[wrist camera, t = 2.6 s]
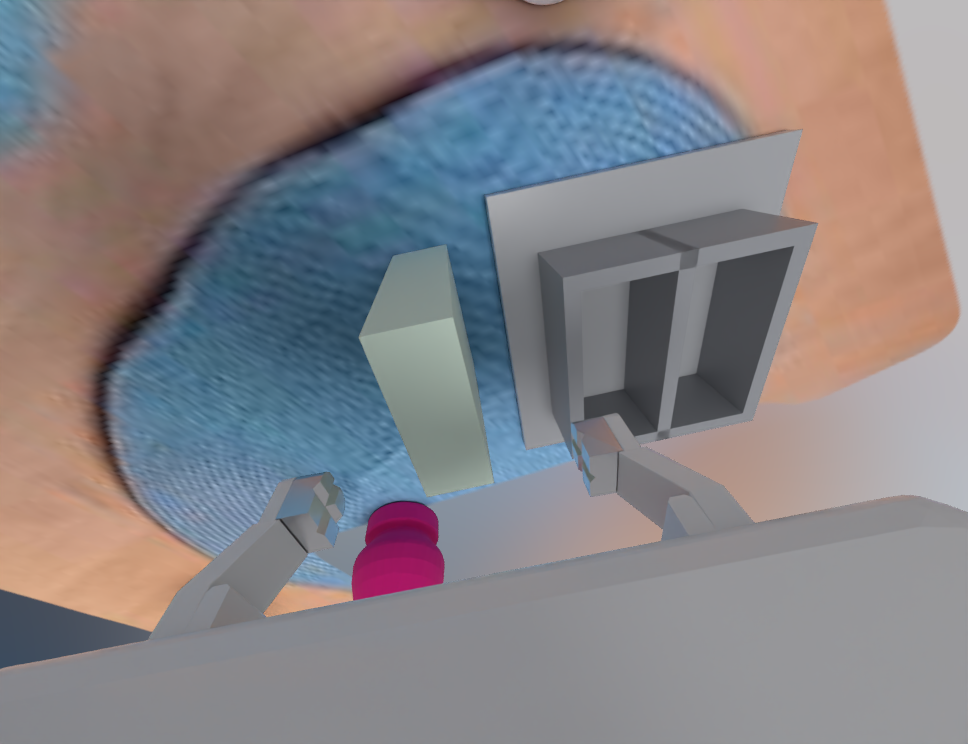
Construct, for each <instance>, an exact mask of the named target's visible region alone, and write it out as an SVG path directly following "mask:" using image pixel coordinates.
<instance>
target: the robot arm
mask: <svg viewBox="0 0 968 744" xmlns="http://www.w3.org/2000/svg"><path fill="white" fill-rule="evenodd" d="M571 433H572V435H573V437H574V439H573V440H572V450H573V455H574V459H575V462H576V464H577V467H578V469H579V470H580V471H582V472H583V481H584V484H585V486H586V488H587V490H588V493H589V495H590V497H593V496H600V495H606V494H611V493H617V494H618V495H619V496H620V497H622V498H623V499H624V500H626V501H627V502H628V503H629V504H631V505H632V506H633V507H635V508H636V509H637V510H638V511H640V512H641V513H642V514H644V515H645V516H646V517H648V518H649V519H650V520H651V521H652V522H654V523H655V524H656V525H658V526H659V527H660V528H661V529H663V534H662V539H661V541H659V542H654V543H649V544H644V545H639V546H634V547H628V548H623V549H618V550H613V551H608V552H602V553H597V554H592V555H587V556H582V557H576V558H571V559H566V560H561V561H556V562H551V563H546V564H540V565H535V566H530V567H525V568H520V569H515V570H510V571H505V572H499V573H494V574H489V575H484V576H479V577H474V578H469V579H464V580H458V581H453V582H448V583H443V584H437V585H432V586H427V587H422V588H417V589H411V590H406V591H401V592H396V593H391V594H385V595H380V596H375V597H370V598H365V599H360V600H354V601H349V602H344V603H339V604H334V605H329V606H323V607H318V608H313V609H308V610H303V611H297V612H292V613H287V614H282V615H277V616H272V617H266V616H265V615H263V613H264V612H265V610H266V609H267V608H268V606H269V605H270V604H271V603H272V601H273V600H274V599H275V597H276V596H277V595H278V593H279V592H280V591H281V589H282V588H283V587H284V586H285V584H286V583H287V582H288V580H289V579H290V578H291V576H292V575H293V574H294V572H295V571H296V570H297V568H298V567H299V566H300V565H301V563H302V562H303V561H304V559H305V558H306V557H307V555H308V554H307V553H311V552H315V551H320V550H325V549H329V548H333V547H334V544H335V541H336V537H337V534H338V531H339V527H338V525H337V522H338V521H339V519H340V518H341V517H342V516H343V513H344V509H345V498H344V495H343V492H342V490H341V489H340V487H338V486H336V485H334V484H333V482H334V477H333V476H332V475H331V473H330V472H322V473H317V474H311V475H305V476H300V477H296V478H290V479H284V480H282V481H281V482H279V483H278V485H277V487H276V489H275V491H274V493H273V495H272V497H271V499H270V501H269V503H268V505H267V506H266V508H265V510H264V512H263V514H262V516H261V518H260V520H259V522H258V524H254V525H252V526H251V527H250V528H249V529H248V530H246V531H245V532H244V533H243V534H242V535H241V536H240V537H239V538H237V539H236V540H235V541H234V542H233V543H232V544H231V545H230V546H228V547H227V548H226V549H225V550H224V551H223V552H222V553H221V554H219V555H218V556H217V557H216V558H215V559H214V560H213V561H212V562H211V563H209V564H208V565H207V566H206V567H205V568H204V569H203V570H202V571H200V572H199V573H198V574H197V575H196V576H195V577H194V578H193V579H191V580H190V581H189V582H188V583H187V584H186V585H185V586H184V587H182V588H181V589H180V590H179V591H178V592H177V593H176V595H175V597H174V598H173V600H172V602H171V603H170V605H169V606H168V608H167V610H166V611H165V613H164V615H163V616H162V618H161V619H160V621H159V623H158V624H157V626H156V627H155V629H154V631H153V632H152V634H151V636H150V637H149V639H148V640H147V641H142V642H137V643H132V644H127V645H121V646H117V647H111V648H106V649H101V650H96V651H91V652H85V653H80V654H75V655H70V656H65V657H59V658H54V659H49V660H44V661H39V662H33V663H28V664H22V665H16V666H11V667H7V668H2V669H0V744H968V512H966V511H963V510H960V509H958V508H955V507H952V506H949V505H947V504H944V503H940V502H937V501H933V500H931V499H927V498H924V497H921V496H914V495H900V496H893V497H887V498H881V499H876V500H871V501H866V502H861V503H855V504H850V505H845V506H840V507H835V508H830V509H825V510H820V511H814V512H809V513H804V514H799V515H794V516H789V517H784V518H779V519H773V520H769V521H763V522H758V523H754V522H753V520H752V519H751V518H750V517H749V515H748V514H747V513H746V512H745V511H744V509H743V508H742V507H741V506H740V505H739V504H738V502H737V501H736V500H735V499H734V498H733V496H732V495H731V494H730V493H729V492H728V491H727V489H726V488H725V487H724V486H723V485H721V484H719V483H717V482H715V481H713V480H711V479H709V478H707V477H705V476H703V475H701V474H699V473H697V472H695V471H693V470H691V469H689V468H687V467H685V466H683V465H681V464H679V463H678V462H676V461H674V460H672V459H670V458H668V457H665V456H664V455H662V454H660V453H658V452H655V451H654V450H652V449H650V448H648V447H641V446H640V445H639V443H638V442H637V440H636V439H635V437H634V436H633V434H632V433H631V431H630V430H629V428H628V427H627V425H626V424H625V422H624V421H623V419H622V418H621V417H620V415H619V414H617V413H614V414H609V415H604V416H601V417H595V418H591V419H586V420H581V421H576V422H572V423H571Z"/></svg>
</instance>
